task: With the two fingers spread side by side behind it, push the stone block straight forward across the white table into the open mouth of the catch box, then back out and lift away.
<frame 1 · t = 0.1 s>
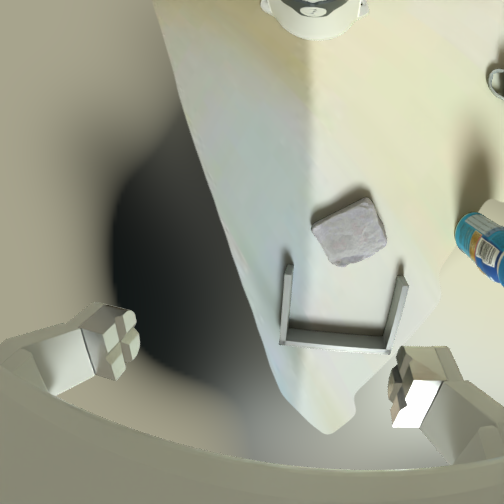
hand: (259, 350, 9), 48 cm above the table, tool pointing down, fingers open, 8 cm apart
catch box: (341, 303, 60), on the table
stone block: (351, 232, 55), on the table
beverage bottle: (471, 232, 50), on the table
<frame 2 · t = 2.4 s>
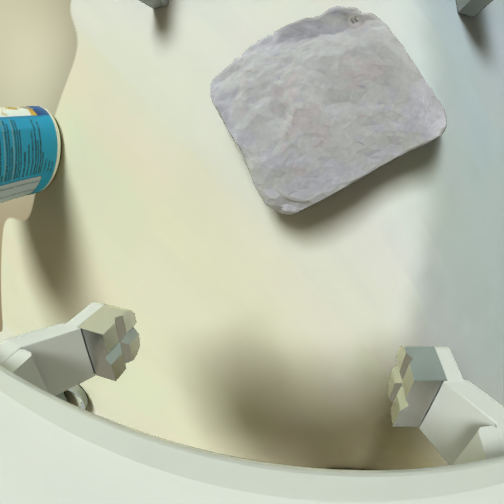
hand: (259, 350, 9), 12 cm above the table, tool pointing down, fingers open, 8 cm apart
stone block: (322, 101, 18), on the table
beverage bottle: (38, 148, 23), on the table
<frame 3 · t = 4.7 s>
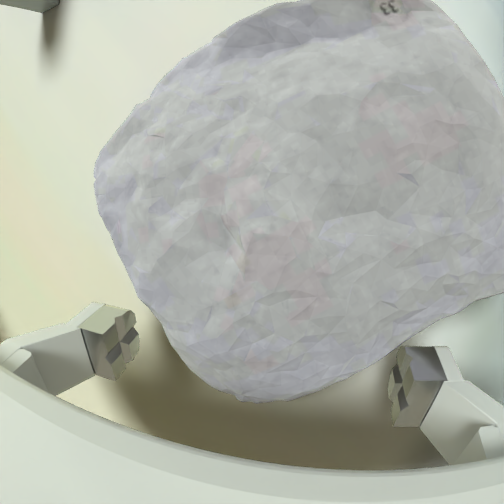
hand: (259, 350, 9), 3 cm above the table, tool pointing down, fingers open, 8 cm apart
stone block: (315, 173, 10), on the table, touching gripper
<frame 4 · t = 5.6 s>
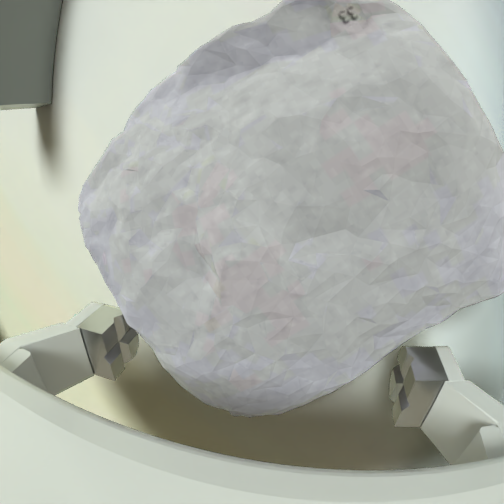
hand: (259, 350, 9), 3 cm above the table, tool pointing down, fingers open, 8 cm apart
stone block: (293, 189, 10), on the table, touching gripper
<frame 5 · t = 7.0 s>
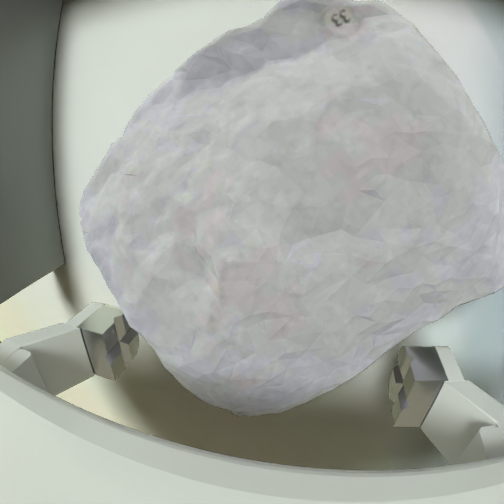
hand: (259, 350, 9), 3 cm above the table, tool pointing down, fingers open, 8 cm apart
catch box: (291, 87, 9), on the table
stone block: (291, 190, 10), on the table, touching gripper
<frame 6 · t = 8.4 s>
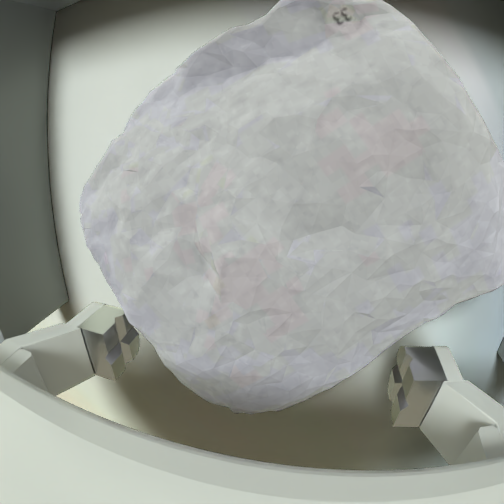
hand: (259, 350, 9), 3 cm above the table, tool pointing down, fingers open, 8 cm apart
catch box: (281, 147, 9), on the table
stone block: (291, 188, 10), on the table
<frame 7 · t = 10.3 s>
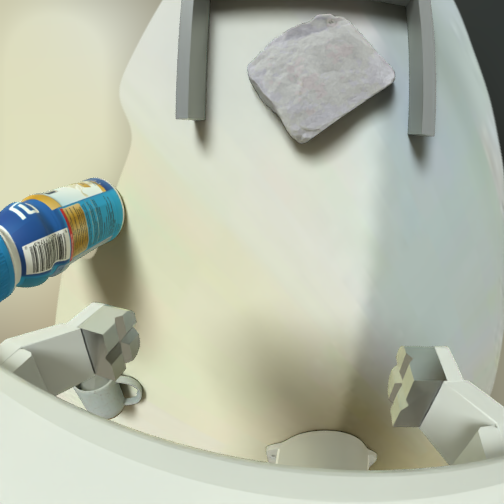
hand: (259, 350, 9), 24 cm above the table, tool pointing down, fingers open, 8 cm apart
catch box: (307, 53, 26), on the table
ceramic mug: (116, 378, 47), on the table
stone block: (316, 74, 27), on the table
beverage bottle: (101, 208, 36), on the table
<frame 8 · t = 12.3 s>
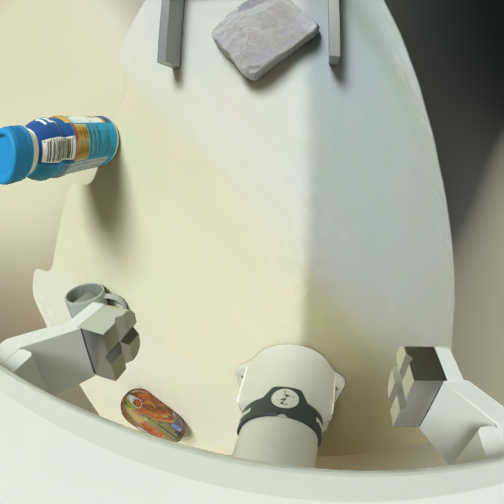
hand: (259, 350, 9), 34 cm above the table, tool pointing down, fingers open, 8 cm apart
tin: (160, 404, 63), on the table
catch box: (252, 16, 34), on the table
ceramic mug: (106, 300, 55), on the table
stone block: (263, 34, 35), on the table
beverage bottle: (101, 141, 44), on the table
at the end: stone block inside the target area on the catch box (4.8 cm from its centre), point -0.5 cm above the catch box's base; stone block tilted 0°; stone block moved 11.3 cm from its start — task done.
